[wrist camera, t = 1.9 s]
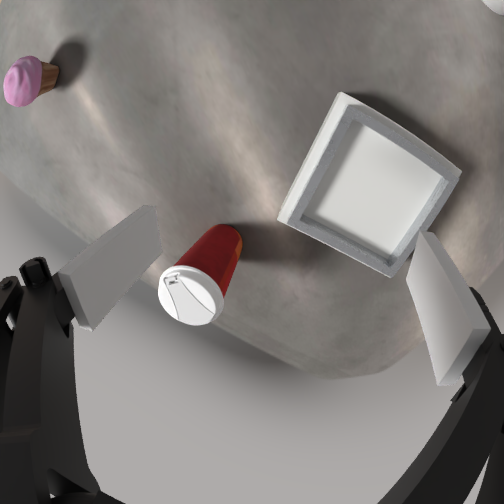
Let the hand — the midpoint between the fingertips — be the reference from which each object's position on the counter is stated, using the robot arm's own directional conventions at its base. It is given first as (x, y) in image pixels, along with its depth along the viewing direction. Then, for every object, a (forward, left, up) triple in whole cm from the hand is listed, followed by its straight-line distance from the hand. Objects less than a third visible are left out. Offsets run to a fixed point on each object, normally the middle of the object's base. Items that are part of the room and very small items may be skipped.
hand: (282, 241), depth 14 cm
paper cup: (-5, -16, -23) cm, 29 cm away
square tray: (+8, +1, -23) cm, 25 cm away
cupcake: (-45, -1, -23) cm, 50 cm away
